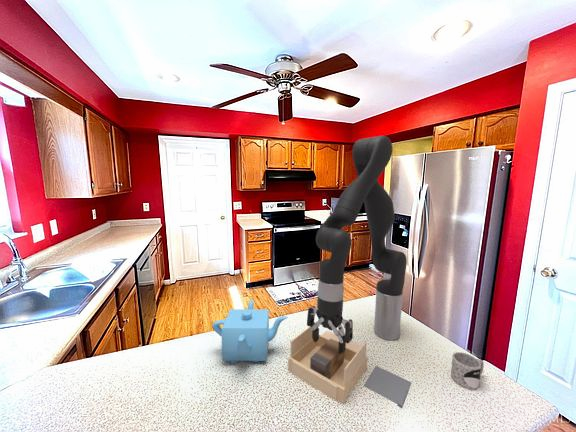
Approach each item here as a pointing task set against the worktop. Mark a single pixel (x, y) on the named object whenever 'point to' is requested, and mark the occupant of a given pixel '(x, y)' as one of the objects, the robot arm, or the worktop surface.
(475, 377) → the mug
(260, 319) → the teakettle
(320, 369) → the bar
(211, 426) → the worktop surface
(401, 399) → the mat
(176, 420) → the worktop surface
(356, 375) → the carton
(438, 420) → the worktop surface
